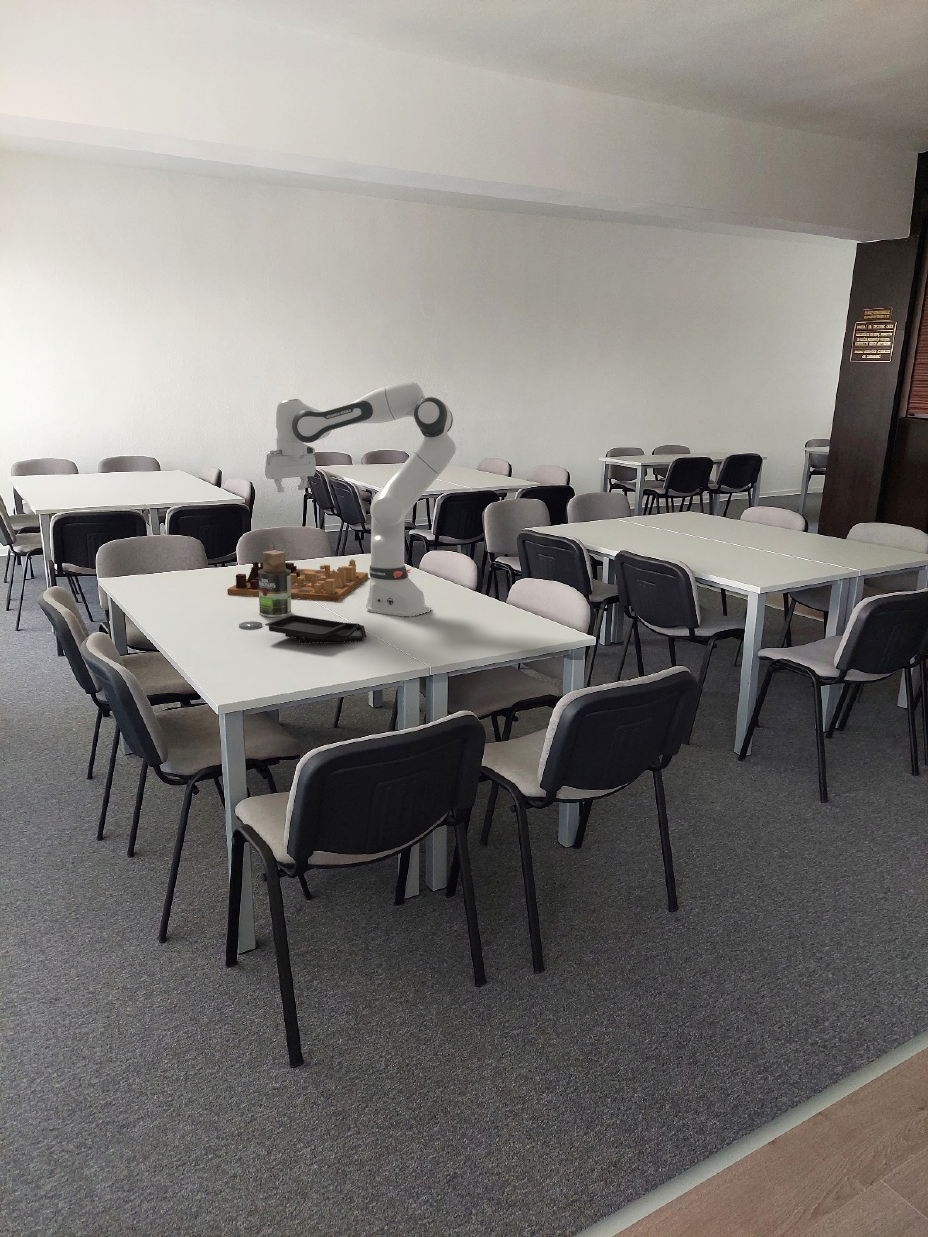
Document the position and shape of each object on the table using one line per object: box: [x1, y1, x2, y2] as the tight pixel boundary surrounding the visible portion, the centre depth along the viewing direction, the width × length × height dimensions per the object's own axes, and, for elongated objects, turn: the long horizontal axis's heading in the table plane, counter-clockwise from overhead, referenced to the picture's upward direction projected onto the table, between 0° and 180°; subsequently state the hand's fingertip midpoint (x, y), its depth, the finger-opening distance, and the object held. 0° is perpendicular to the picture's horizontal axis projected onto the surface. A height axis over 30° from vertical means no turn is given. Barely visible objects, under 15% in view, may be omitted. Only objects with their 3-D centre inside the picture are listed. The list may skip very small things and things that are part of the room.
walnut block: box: [262, 549, 287, 573], centre depth 285 cm, size 5×5×6 cm
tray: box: [264, 614, 367, 645], centre depth 261 cm, size 30×23×5 cm
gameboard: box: [226, 559, 369, 602], centre depth 328 cm, size 40×40×9 cm
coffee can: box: [258, 569, 292, 618], centre depth 288 cm, size 10×10×14 cm
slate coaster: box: [238, 620, 263, 630], centre depth 273 cm, size 7×7×1 cm
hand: (291, 491), depth 300 cm, fingers open, 8 cm apart
